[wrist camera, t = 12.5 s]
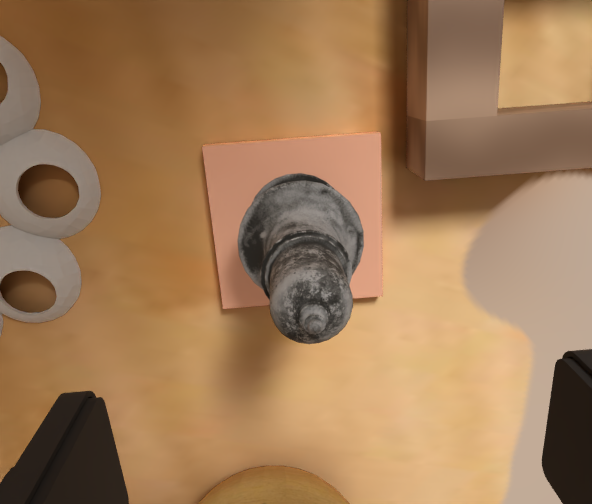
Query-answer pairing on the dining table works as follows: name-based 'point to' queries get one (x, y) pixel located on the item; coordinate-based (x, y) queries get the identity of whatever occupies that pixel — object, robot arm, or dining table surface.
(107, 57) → the dining table surface
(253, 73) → the dining table surface
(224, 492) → the pot
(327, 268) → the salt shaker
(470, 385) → the dining table surface
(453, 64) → the brown square wooden frame
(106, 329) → the dining table surface
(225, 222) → the terracotta tile
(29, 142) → the paint palette
